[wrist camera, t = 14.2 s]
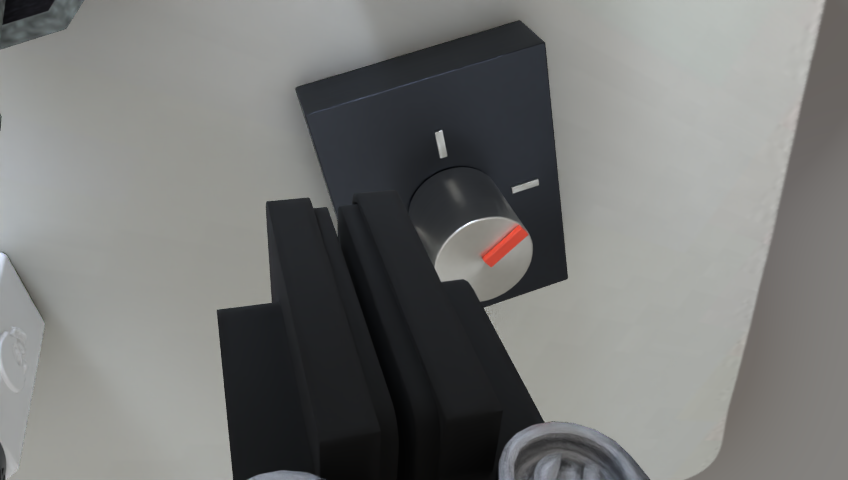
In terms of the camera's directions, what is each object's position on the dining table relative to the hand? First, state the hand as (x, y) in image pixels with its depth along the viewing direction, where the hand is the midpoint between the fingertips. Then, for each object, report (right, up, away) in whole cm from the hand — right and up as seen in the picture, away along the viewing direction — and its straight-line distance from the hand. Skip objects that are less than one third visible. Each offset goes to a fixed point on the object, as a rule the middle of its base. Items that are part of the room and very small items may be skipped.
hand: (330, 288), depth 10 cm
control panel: (+2, +4, +30) cm, 30 cm away
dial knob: (+3, +2, +27) cm, 27 cm away
